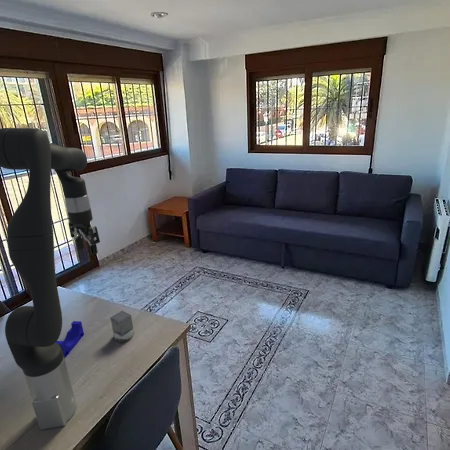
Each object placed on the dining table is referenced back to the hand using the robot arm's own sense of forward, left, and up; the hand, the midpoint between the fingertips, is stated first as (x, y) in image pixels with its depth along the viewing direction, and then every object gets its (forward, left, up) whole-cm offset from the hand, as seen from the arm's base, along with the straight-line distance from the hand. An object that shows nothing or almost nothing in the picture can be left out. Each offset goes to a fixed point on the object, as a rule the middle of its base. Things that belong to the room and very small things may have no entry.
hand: (87, 251), depth 114 cm
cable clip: (-12, +9, -31) cm, 34 cm away
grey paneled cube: (-11, -10, -28) cm, 31 cm away
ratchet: (-8, -10, -30) cm, 33 cm away
